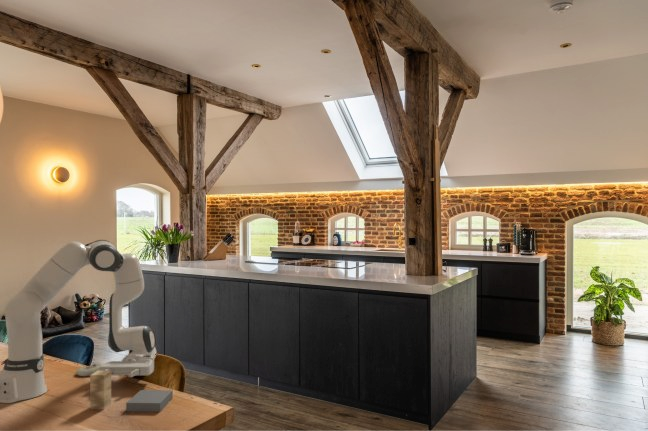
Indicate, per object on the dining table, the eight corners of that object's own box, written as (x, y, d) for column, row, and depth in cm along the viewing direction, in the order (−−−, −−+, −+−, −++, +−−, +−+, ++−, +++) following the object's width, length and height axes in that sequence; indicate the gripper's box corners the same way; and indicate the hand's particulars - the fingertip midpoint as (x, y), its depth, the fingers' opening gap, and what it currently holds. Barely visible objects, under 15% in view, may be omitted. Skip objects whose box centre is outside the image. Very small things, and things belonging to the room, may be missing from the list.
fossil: (89, 359, 210) (109, 363, 208) (89, 367, 210) (108, 371, 208) (71, 367, 199) (92, 371, 197) (70, 375, 199) (91, 379, 197)
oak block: (90, 409, 164) (90, 375, 164) (97, 403, 169) (97, 370, 169) (104, 409, 164) (104, 375, 164) (111, 403, 169) (111, 370, 169)
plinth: (126, 411, 162) (126, 402, 162) (140, 398, 174) (140, 390, 174) (160, 411, 162) (160, 403, 162) (172, 398, 174) (172, 390, 174)
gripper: (108, 356, 193) (90, 367, 179) (157, 356, 192) (143, 367, 179) (108, 371, 193) (90, 383, 179) (157, 371, 192) (143, 383, 179)
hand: (117, 375), depth 179 cm, fingers open, 8 cm apart
